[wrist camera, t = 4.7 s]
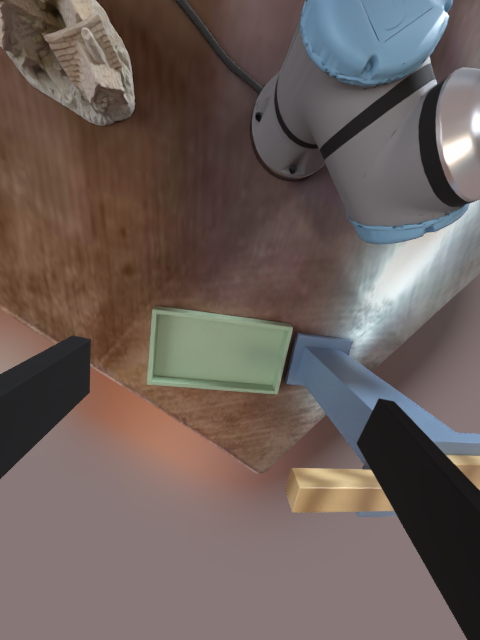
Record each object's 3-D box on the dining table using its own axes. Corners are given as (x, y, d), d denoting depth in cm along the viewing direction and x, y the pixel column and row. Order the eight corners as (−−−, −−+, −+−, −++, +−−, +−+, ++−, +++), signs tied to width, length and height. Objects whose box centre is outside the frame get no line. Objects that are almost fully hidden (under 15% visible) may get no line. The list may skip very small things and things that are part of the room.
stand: (276, 380, 53) (354, 524, 25) (287, 331, 50) (391, 430, 22) (335, 385, 56) (468, 521, 27) (348, 339, 53) (514, 437, 24)
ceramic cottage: (-11, 0, 31) (-178, -195, 17) (113, -8, 33) (54, -189, 19) (42, 137, 37) (-52, 74, 23) (147, 124, 39) (119, 58, 25)
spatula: (280, 507, 23) (286, 530, 21) (296, 448, 21) (305, 468, 19) (463, 505, 26) (482, 525, 24) (489, 455, 25) (513, 472, 23)
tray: (150, 376, 49) (146, 384, 46) (156, 305, 45) (152, 309, 42) (273, 386, 54) (277, 394, 51) (288, 323, 50) (293, 327, 47)
